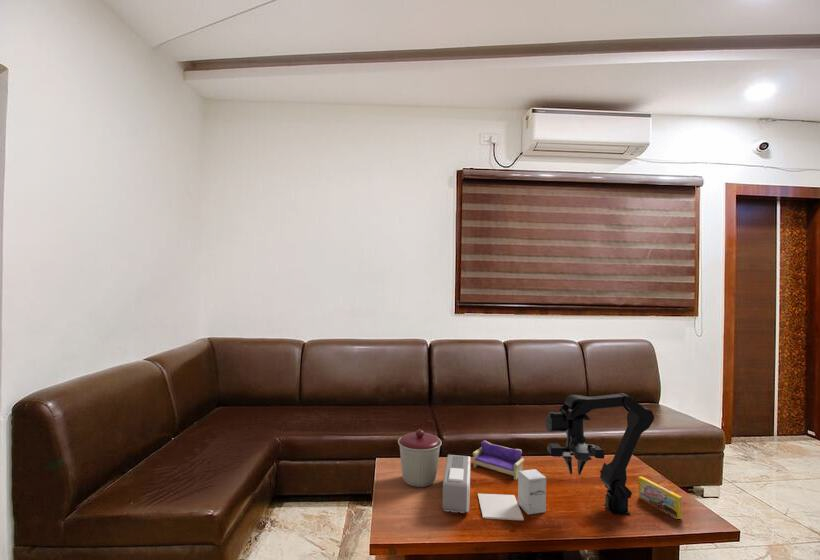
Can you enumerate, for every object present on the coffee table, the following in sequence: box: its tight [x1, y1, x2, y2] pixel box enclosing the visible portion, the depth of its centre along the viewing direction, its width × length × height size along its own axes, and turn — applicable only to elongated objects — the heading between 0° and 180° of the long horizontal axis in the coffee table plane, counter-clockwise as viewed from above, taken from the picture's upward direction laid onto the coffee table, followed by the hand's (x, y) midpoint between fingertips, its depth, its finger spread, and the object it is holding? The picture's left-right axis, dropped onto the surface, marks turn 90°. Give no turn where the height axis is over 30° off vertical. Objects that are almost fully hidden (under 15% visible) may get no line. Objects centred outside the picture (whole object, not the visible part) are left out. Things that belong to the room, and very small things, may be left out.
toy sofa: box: [472, 439, 525, 481], centre depth 179 cm, size 21×9×10 cm, turn 54°
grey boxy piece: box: [442, 454, 471, 514], centre depth 155 cm, size 27×9×12 cm, turn 171°
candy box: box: [638, 475, 683, 520], centre depth 150 cm, size 16×2×8 cm, turn 20°
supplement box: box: [517, 468, 547, 516], centre depth 148 cm, size 7×7×13 cm
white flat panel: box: [477, 492, 525, 521], centre depth 148 cm, size 14×16×1 cm
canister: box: [397, 429, 443, 488], centre depth 167 cm, size 18×18×21 cm
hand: (574, 474), depth 147 cm, fingers open, 3 cm apart
